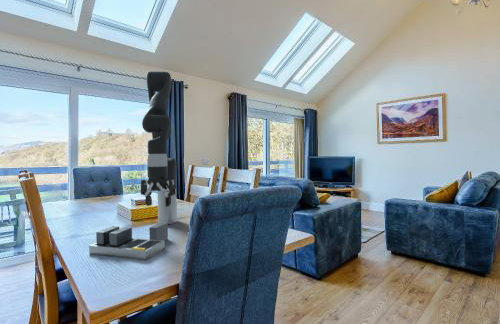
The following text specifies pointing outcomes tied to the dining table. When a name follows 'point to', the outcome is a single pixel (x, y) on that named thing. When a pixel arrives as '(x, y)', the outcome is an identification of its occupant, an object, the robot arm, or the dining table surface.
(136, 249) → the rack
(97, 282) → the dining table surface
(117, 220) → the dining table surface
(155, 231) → the grey block
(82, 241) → the dining table surface
